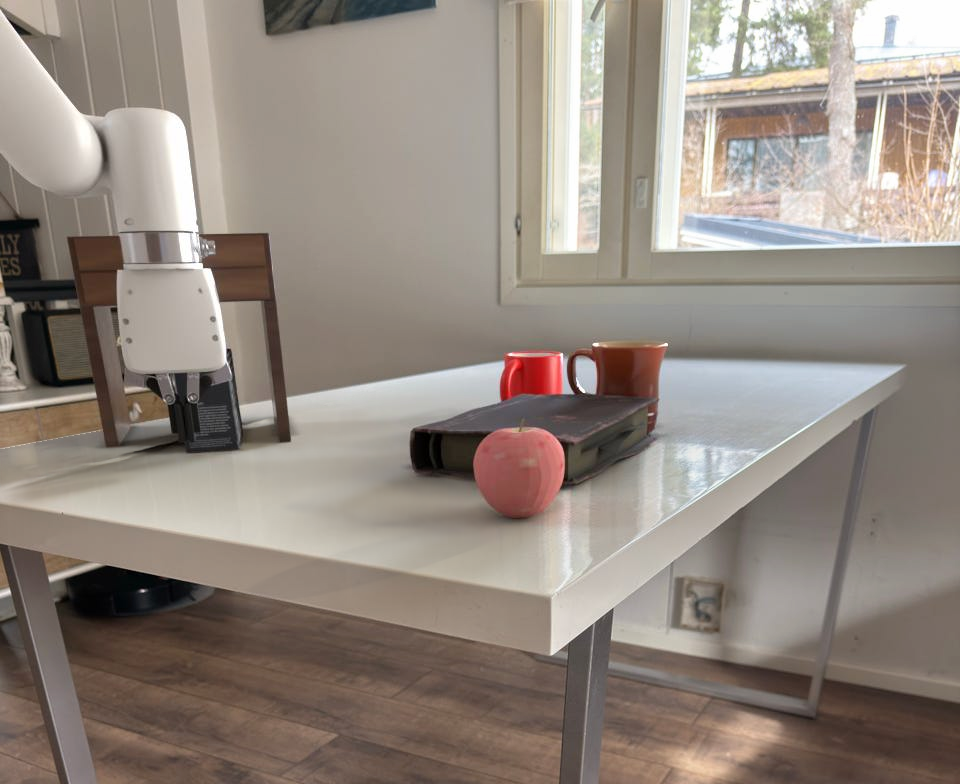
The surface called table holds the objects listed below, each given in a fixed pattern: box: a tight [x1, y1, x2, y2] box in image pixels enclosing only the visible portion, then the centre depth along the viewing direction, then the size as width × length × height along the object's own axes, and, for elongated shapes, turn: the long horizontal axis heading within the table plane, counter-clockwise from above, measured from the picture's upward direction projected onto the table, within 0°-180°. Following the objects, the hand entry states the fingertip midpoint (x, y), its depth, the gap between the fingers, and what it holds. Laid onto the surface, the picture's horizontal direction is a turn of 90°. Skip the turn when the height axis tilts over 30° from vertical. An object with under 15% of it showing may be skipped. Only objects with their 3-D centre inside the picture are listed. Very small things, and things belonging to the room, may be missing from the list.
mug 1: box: [499, 350, 564, 402], centre depth 120 cm, size 8×12×8 cm, turn 149°
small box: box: [172, 348, 244, 454], centre depth 106 cm, size 11×6×10 cm, turn 12°
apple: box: [473, 418, 565, 519], centre depth 73 cm, size 7×7×8 cm
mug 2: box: [566, 340, 668, 435], centre depth 106 cm, size 12×9×10 cm
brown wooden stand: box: [66, 232, 292, 448], centre depth 107 cm, size 14×21×23 cm
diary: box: [408, 393, 660, 486], centre depth 94 cm, size 19×25×5 cm
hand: (187, 440), depth 95 cm, fingers closed
